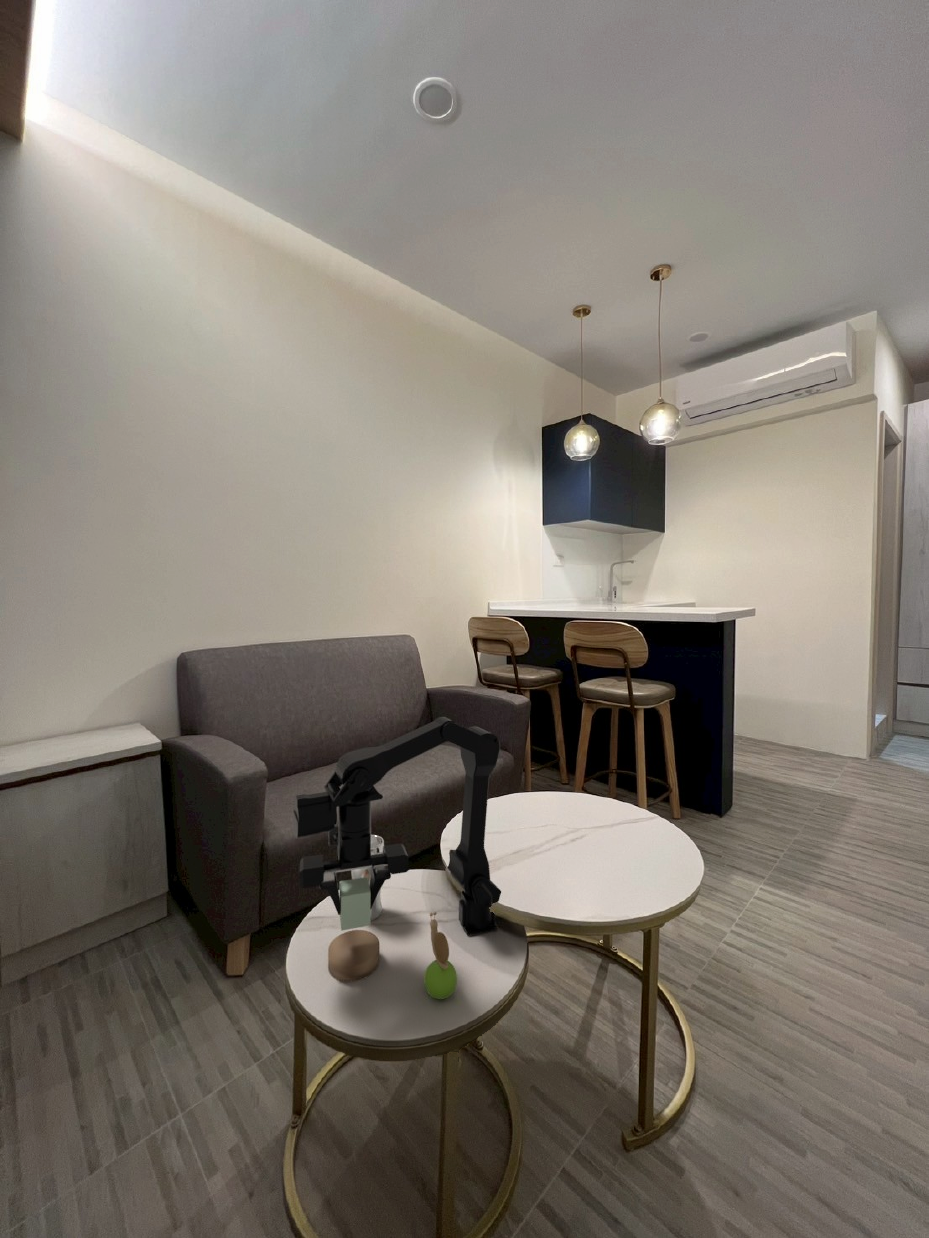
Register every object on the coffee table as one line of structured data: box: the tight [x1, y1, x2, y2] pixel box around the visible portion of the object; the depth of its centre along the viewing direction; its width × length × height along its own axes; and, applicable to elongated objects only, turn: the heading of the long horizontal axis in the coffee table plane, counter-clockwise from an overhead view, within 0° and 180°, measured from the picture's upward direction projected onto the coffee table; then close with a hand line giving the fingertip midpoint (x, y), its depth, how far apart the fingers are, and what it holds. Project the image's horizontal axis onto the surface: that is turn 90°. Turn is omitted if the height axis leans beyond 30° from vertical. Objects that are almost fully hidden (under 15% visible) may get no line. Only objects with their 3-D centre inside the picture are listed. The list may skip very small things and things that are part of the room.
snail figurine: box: [423, 911, 458, 1000], centre depth 83 cm, size 5×6×12 cm
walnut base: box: [327, 929, 380, 983], centre depth 90 cm, size 9×9×3 cm
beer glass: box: [350, 834, 385, 922], centre depth 104 cm, size 7×7×15 cm
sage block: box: [339, 877, 371, 931], centre depth 90 cm, size 5×5×6 cm
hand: (354, 910), depth 90 cm, fingers closed on sage block, 5 cm apart
